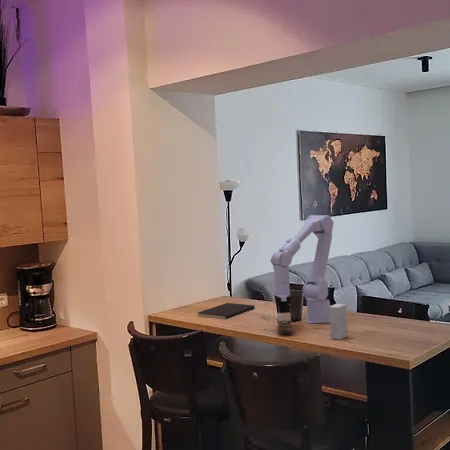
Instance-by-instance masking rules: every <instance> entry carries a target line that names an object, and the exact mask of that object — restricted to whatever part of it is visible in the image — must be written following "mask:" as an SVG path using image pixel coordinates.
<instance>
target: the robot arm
mask: <svg viewBox="0 0 450 450" xmlns="http://www.w3.org/2000/svg"><path fill="white" fill-rule="evenodd" d="M334 224H335V222H334V220H333V219H332V217H331V216H330V215H328V214H325V215H320V214H319V215H318V214H317V215H316V214H310V215H309V216H307V218H306V219H305V220H304V224H303V225H302V227H300V229H299V231H298V232H297V233H296V234H295V236H294V237H291V238H290V237H289V238H288V239H286V242H285V243H284V244H283V246H281V247H280V248H279V250H278V251H274V252H273V253H272V255H271V258H270V263H271V265H272V269H273V271H274V272H273V273H274V291H275V292H272V296H274V297H275V296H276V298H275V301H276V303H277V306H278V309H279V313H288V307H289V304H290V303H291V297H290V296H291V292H290V291H291V288H290V286H291V285H290V267H289V266H291V264H292V261H293V257H294V256H295V255H296V254H297V252H299V250H300V249H301V248H302V247H301V245H302V242H304V241H305V240H306V239H307V238H308V237H309V236H310V235H311V234H314V235H315V236H316V238H317V244H316V248H315V254H314V259H313V264H312V269H311V274H310V276H308V277H307V278H306V280H305V283H304V284H303V286H302V290H301V291H302V295H303V296H304V298H305V301H306V311H307V312H306V313H307V317H306V318H305V320H306V322H307V324H323V323H326V324H327V323H329V324H330V318H329V306H331V302H330V299H327V297H328V295H329V287H328V286H329V283H328V281H327V280H326V279H325V275H326V270H327V265H328V261H329V260H328V259H329V256H330V249H331V244H332V240H333V229H334Z"/></svg>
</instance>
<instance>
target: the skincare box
mask: <svg viewBox="0 0 450 450" xmlns="http://www.w3.org/2000/svg"><path fill="white" fill-rule="evenodd" d="M347 312H348V310H347V304H345V303H335V304H332V305H330V306H329V318H330V322H329V332H330V336H329V337H330V339H331V340H338V339H339V340H340V339H341V340H343V339H345V338H346V337H349V332H348V331H349V330H348V328H349V327H348V314H347ZM339 340H338V341H339Z"/></svg>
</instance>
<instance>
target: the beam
mask: <svg viewBox="0 0 450 450" xmlns="http://www.w3.org/2000/svg"><path fill="white" fill-rule="evenodd" d="M276 321H277V322H276V323H277V326H276V332H277V334H279V335H280V334H283V335H284V334H294V326H293V322H292V320H291V321H288V323H282V322H281V321H279V320H278V317H276Z"/></svg>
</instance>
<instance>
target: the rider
mask: <svg viewBox="0 0 450 450" xmlns="http://www.w3.org/2000/svg"><path fill="white" fill-rule="evenodd" d="M277 318H278V320H279V321H281V322H282V323H288V321H291V322H292V320H291V318H292V317H291V312H289V311H287V313H280V312H277Z"/></svg>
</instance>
